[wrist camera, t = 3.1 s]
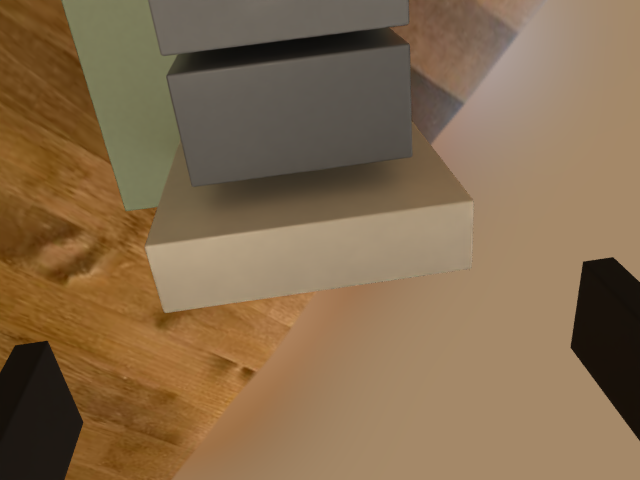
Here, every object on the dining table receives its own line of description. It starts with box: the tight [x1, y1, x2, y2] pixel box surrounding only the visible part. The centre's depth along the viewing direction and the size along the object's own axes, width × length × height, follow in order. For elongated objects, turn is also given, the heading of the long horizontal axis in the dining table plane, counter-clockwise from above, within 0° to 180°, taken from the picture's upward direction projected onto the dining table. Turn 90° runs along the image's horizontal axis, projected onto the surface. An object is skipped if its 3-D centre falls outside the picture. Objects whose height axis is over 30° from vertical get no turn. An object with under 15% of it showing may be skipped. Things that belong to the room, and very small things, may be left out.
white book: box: [145, 122, 474, 313], centre depth 23 cm, size 10×2×12 cm, turn 96°
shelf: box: [61, 0, 413, 211], centre depth 25 cm, size 14×14×18 cm
